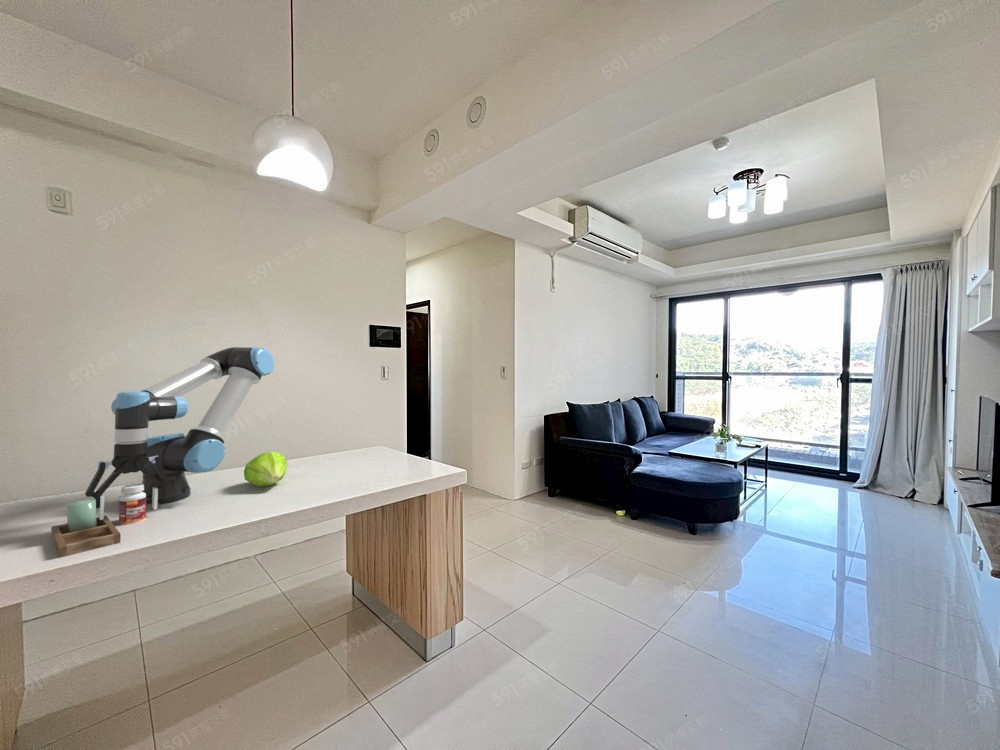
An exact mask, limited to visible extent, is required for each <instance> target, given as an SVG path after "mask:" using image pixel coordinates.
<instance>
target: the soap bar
mask: <svg viewBox="0 0 1000 750" xmlns="http://www.w3.org/2000/svg"><path fill="white" fill-rule="evenodd" d="M96 517H97V509H96V499H94V497H91V498H90V497H87V498H81V499H77V500H73V501H69V502H68V503H67V504H66V518H67V519H66V520H67V521H66V522H67V523H68V533H72V532H76V531H81V530H85V529H90V528H95V527H97V522H96Z"/></svg>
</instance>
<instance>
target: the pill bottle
mask: <svg viewBox="0 0 1000 750" xmlns="http://www.w3.org/2000/svg"><path fill="white" fill-rule="evenodd" d="M141 483H142V482H141ZM141 483H131V484H127V485H123V486H121V492H120V493H121V495H120V496H119V499H118V524H119V525H130V524H132V525H133V524H137V523H141V522H142V521H145V520H146V519H147V504H146V493H144V492H142V491H143V490H144V484H141Z"/></svg>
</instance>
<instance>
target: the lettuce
mask: <svg viewBox="0 0 1000 750" xmlns="http://www.w3.org/2000/svg"><path fill="white" fill-rule="evenodd" d="M287 461H288V460H287V458H286V457H285V456H284V454H283V453H280V452H278V451H269V452H264V453H261V454H259V455H256V456H255V457H254V458H252V459H251V460H250V461H249V462H247V463H246V464H245V466H244V470H243V476H244V480H245V481H247V482H249V483H250V484H252V485H254V486H256V487H260V488H261V487H267V486H272V485H274V484H275V483H278V482H279V481H281V480H283V479H284V476H285V475H286V473H287V470H288V469H287V468H288V462H287Z"/></svg>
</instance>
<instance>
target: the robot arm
mask: <svg viewBox="0 0 1000 750" xmlns="http://www.w3.org/2000/svg"><path fill="white" fill-rule="evenodd" d="M274 361H275V360H274V357H273V354H272V353H271V351H270V350H269V349H267V348H266V347H260V346H259V347H258V346H253V347H251V346H250V347H249V346H248V347H240V346H239V347H237V346H234V347H233V346H232V347H228V348H224V349H222V350H219V351H217V352H214V353H212V354H209V355H208V356H207V355H206V356H205V357H203V358H202V359H201V360H200V362H199V363H197V364H195V365H193V366H190V367H189V368H187V369H184V370H183V371H179V372H178V373H176V374H174V375H172V376H169V377H167V378H165V379H163V380H161V381H160V382H159V381H158V382H157V383H155V384H153V385H151V386H149V387H147V388H145V389H142V390H141V391H121V392H118V393H117V394H116V398H115V399H114V400H113V401H112V403H111V406H110V407H111V408H110V409H111V412H112V414H113V415H114V442H115V444H113V459H112V460H110V461H103V460H101V461H99V462H98V466H97V471H96V472H95V474H94V476H93V478H92V480H91V482H90V483H89V485H88V487H87V489H86V491H85V492H84V495H85V496H86V498H90V497H91V498H93V499H96V510H97V509H98V512H97V513H98V514H97V515H98V516H97V517H98V518H99V519H100V520H103V519H104V516H105V515H104V514H105V513H104V512H105V496H104V495H103V494H104V493H105V491H107V489H108V488H109V487H111V485H112V484H113V483H114V482H115V481H116V479H117V478H118V477H120V475H121V474H124V475H126V474H130V473H133V474H134V473H138V472H141V473H142V480H141V484H144V490H143V491H142V492H144V493H146V505H149V504H150V505H151V508H152V509H153V510H154V511H155V510H158V504H159V505H161V504H167V503H173V502H176V501H180V500H184V499H185V498H188V497H190V496H191V494H192V493H191V492H192V491H191V489H192V488H191V486H190V484H189V481H188V479H187V477H186V475H185V474H186V473H185V472H187V473H194V474H198V473H207V472H210V471H213V470H215V469H216V468H217V467H219V465H221V463H222V462H223V460H224V459H225V456H226V451H225V450H226V448H225V445H224V443H225V438H224V434H225V433H226V431H227V429H228V428H229V426H230V424H231V422H233V421H232V420H233V419H234V417H235V415H236V414H237V412H238V410H239V409H240V407H241V405H242V404H243V402H244V400H245V398H246V396H247V395H248V393H249V391H250V389H251V388H252V386H253V385H257V384H258V383H259V382H260V381H261V380H262V377H263V376H264V377H265V376H269V375H271V374H272V372H273V371H274V367H275V362H274ZM225 376H228V377H227V379H226V381H225V382H224V384H223V385H222V387H221V389H220V391H218V394H216V397H215V398H214V400H213V401H212V403H211V405H210V406H209V408H208V410H207V411H206V413H205V414H204V415H203V417H202V419H201V420H200V422H199V424H198V425H197V427H194V428H190V429H189V430H188V432H187V434H186V435H185V434H184V433H182V432H177V433H171V434H164V435H156V436H155V435H154V436H149V422H153V421H164V420H176V419H180V418H183V417H185V416H186V415H187V414H188V412H189V404H188V401H187V400H186V398H184V397H182V395H184V394H187V393H188V392H190V391H192V390H194V389H196V388H197V387H199V386H201V385H203V384H205V383H207V382H209V381H211V380H218V379H220V378H222V377H225ZM110 466H113V468H114V470H113V471H112V472H111V473H110V475H109V476H108V477H107V479H105V480H104V482H102V484H101V485H100V486H99V487H98V485H99V483H100V481H101V480H102V478H103V475H104V474H105V471H106V470H107V469H109V468H110ZM97 487H98V488H97ZM96 488H97V489H96Z"/></svg>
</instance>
